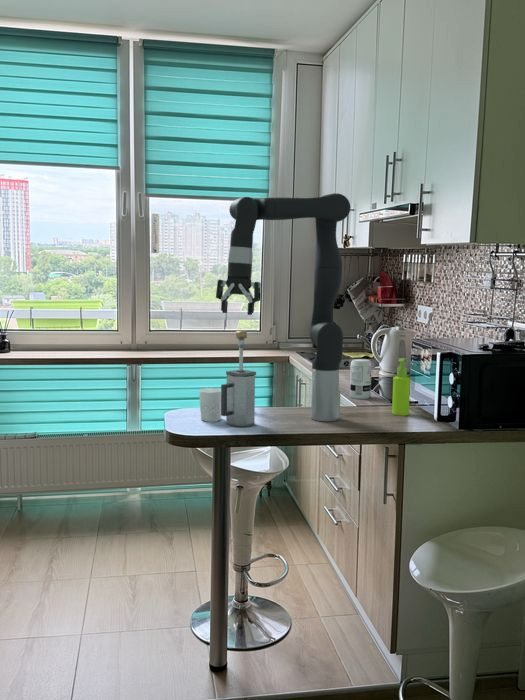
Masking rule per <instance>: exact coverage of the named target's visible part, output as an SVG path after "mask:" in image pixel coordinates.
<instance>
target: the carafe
mask: <svg viewBox="0 0 525 700" xmlns="http://www.w3.org/2000/svg"><path fill="white" fill-rule="evenodd" d="M225 375H226V383H224V384H221V387H220V389H221V417H225V418H226V422H225V423H226V426H227V427H230V428H238V429H239V428H241V429H243V428H250V427H254V426H255V417H256V416H255V414H256V410H255V406H256V404H255V403H256V401H255V400H256V399H255V396H256V395H255V394H256V376H257V371H253V370H248V369H243V372H239V369H234V370H227V371H225Z"/></svg>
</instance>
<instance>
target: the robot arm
mask: <svg viewBox="0 0 525 700" xmlns="http://www.w3.org/2000/svg"><path fill="white" fill-rule="evenodd" d="M228 210H229V214H230V216H231V217H232V218H233V219H234V220H235V223H234V228H233V229H232V230H231V233H230V243H229V244H230V245H229V250H228V251H229V252H228V257H227V260H228V261H227V263H228V264H227V279H226V280H224V279H218V280H217V284H216V290H215V291H216V292H215V298H216V299H218V300H220V301H221V305H220V310H221V312H222V313H223V314H227V313H228V303H229V301H228V300H229V298H230V297H232V295H241V296H242V295H243V296H244V297H245V298H246V299H247V300H248V303H247V316H252V314H254V311H255V304H256V302H260V301H261V298H262V297H261V292H262V291H261V285H262V284H261V282H260V281H255V282H252V269H253V257H254V255H253V253H254V252H253V242H254V231H255V228H256V225H257V221H260V220H261V221H262V220H263V221H285V220H295V219H297V220H298V219H306V218H312V219H313V218H314V219H315V221H314V222H315V252H314V253H315V256H314V271H313V272H314V273H313V274H314V275H313V280H314V281H313V305H312V306H313V307H312V314H311V322H310V329H309V337H310V341H311V342H312V344H313V345H314V346H315V347H316V354H315V358H314V359H313V360H312V364H311V368H312V369H311V397H310V398H311V402H310V403H311V407H310V408H311V409H310V419H311V420H313V421H317V422H318V421H319V422H334V421H337V420H339V419H340V418H341V417H340V416H341V390H340V364H341V363H342V360H343V348H344V347H343V346H344V335H343V330H342V328H341V327H340V325H339V324H337V323H335V322H334V308H335V302H336V299H337V297H338V294H339V292H340V289H341V285H342V280H343V279H342V278H343V260H342V259H343V258H342V256H341V255H342V254H341V251H340V248H339V246H338V240H337V225H338V223H339V222H341V221H343V220H345V219H346V218H347V217H348V216H349V214H350V213H351V203H350V200H349V198H348V197H347V196H345V195H343V194H342V193H338V192H337V193H330V194H324V195H321V196H319V197H318V196H317V197H263V198H253V197H250V196H243V197H240V198H236V199H235V200H233V201H232V202H231V203H230V206H229V209H228ZM226 286H227V289H226V291H225V292H224V287H226ZM251 287H252V289H253V290H254V291H253V293H252V292H251V291H250V289H251ZM223 293H224V294H223Z"/></svg>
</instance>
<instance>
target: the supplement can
mask: <svg viewBox="0 0 525 700" xmlns="http://www.w3.org/2000/svg"><path fill="white" fill-rule="evenodd" d="M372 366H373V365H372V362H371V360H370V359H366V358H352V360H351V362H350V372H349V373H350V374H349V375H350V376H349V377H350V378H349V397H350V398H352V399H355V400H356V399H357V400H367V399H369V398H370V397H371V395H372V394H371V393H372V392H371V391H372V389H371V388H372Z"/></svg>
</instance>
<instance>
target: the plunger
mask: <svg viewBox="0 0 525 700" xmlns="http://www.w3.org/2000/svg"><path fill="white" fill-rule="evenodd" d="M235 338H236V339H237V347H238V348H239V349H238V351H239V353H238V362H239V363H238V365H239V366H238V370H239V372H243V370H244V347H245V339H247V338H248V331H247V330H246V331H245V330H237V331H235Z"/></svg>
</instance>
